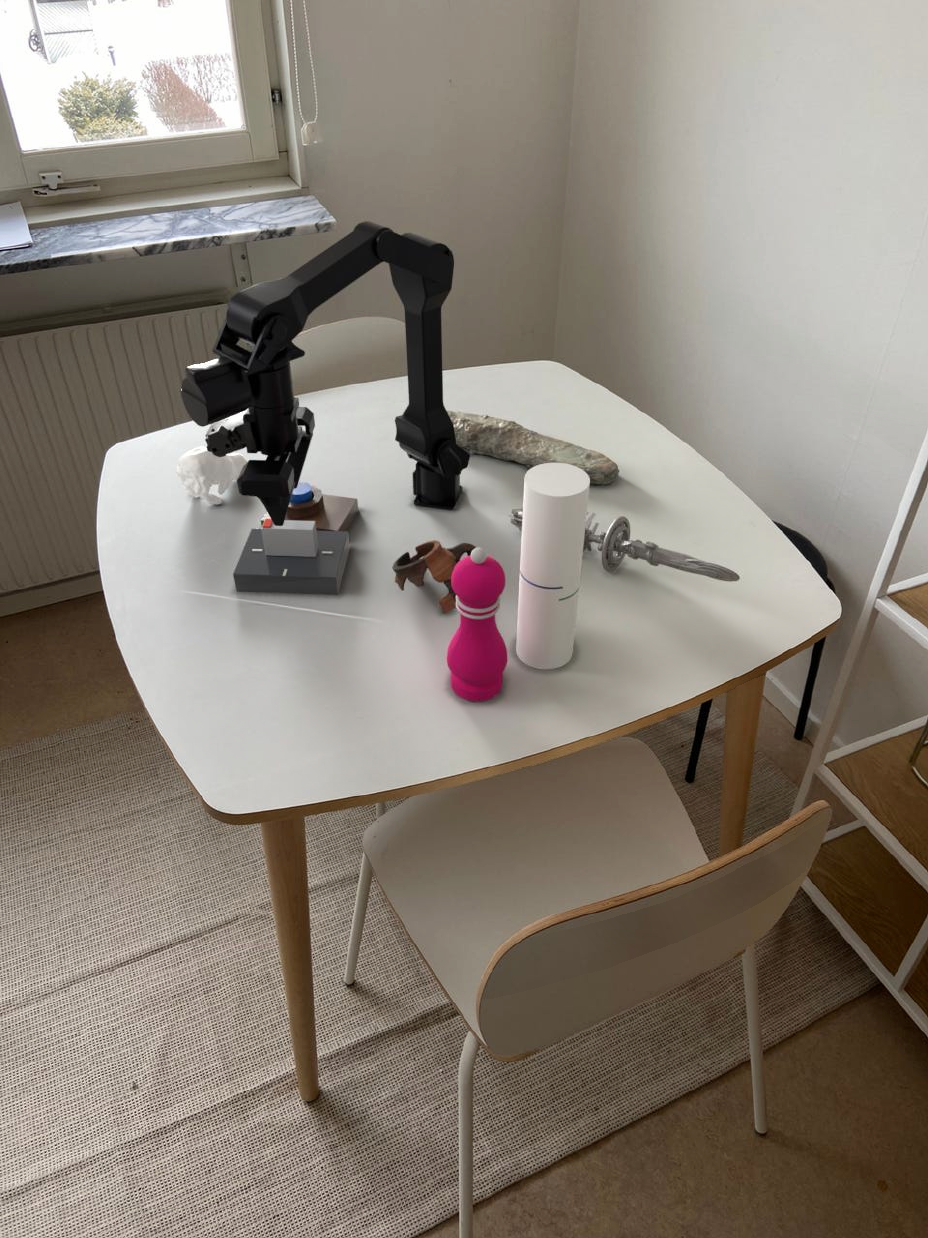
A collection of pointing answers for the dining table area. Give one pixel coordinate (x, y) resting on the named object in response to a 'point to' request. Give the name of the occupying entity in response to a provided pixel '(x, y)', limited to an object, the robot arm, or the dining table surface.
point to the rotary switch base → (293, 567)
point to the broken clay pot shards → (432, 567)
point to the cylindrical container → (550, 563)
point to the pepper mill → (477, 628)
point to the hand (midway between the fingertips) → (286, 505)
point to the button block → (323, 511)
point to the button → (301, 493)
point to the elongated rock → (527, 446)
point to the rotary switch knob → (290, 538)
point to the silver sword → (639, 550)
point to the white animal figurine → (208, 472)
